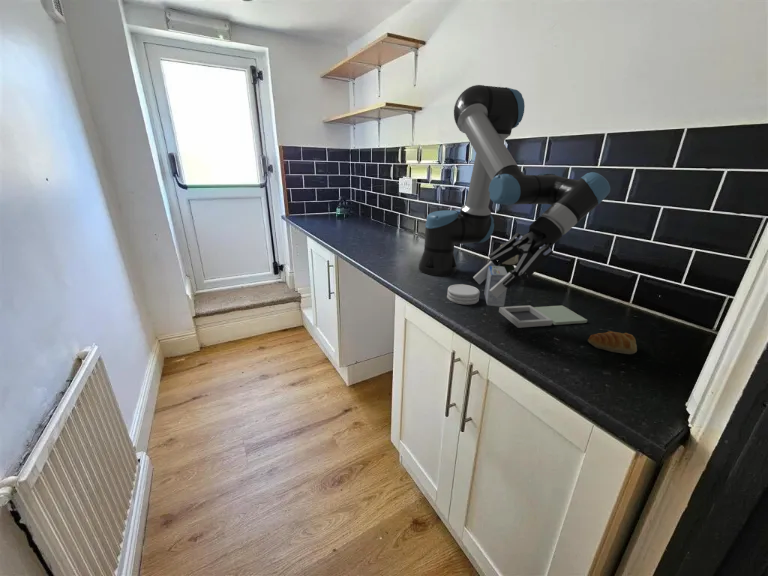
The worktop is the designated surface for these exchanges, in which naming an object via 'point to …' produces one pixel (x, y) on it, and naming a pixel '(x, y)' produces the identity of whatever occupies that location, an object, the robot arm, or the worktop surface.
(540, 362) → the worktop surface
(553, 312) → the pad
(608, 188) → the robot arm
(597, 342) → the pastry
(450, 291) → the coaster
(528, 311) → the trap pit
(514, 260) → the character mug
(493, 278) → the medicine box
